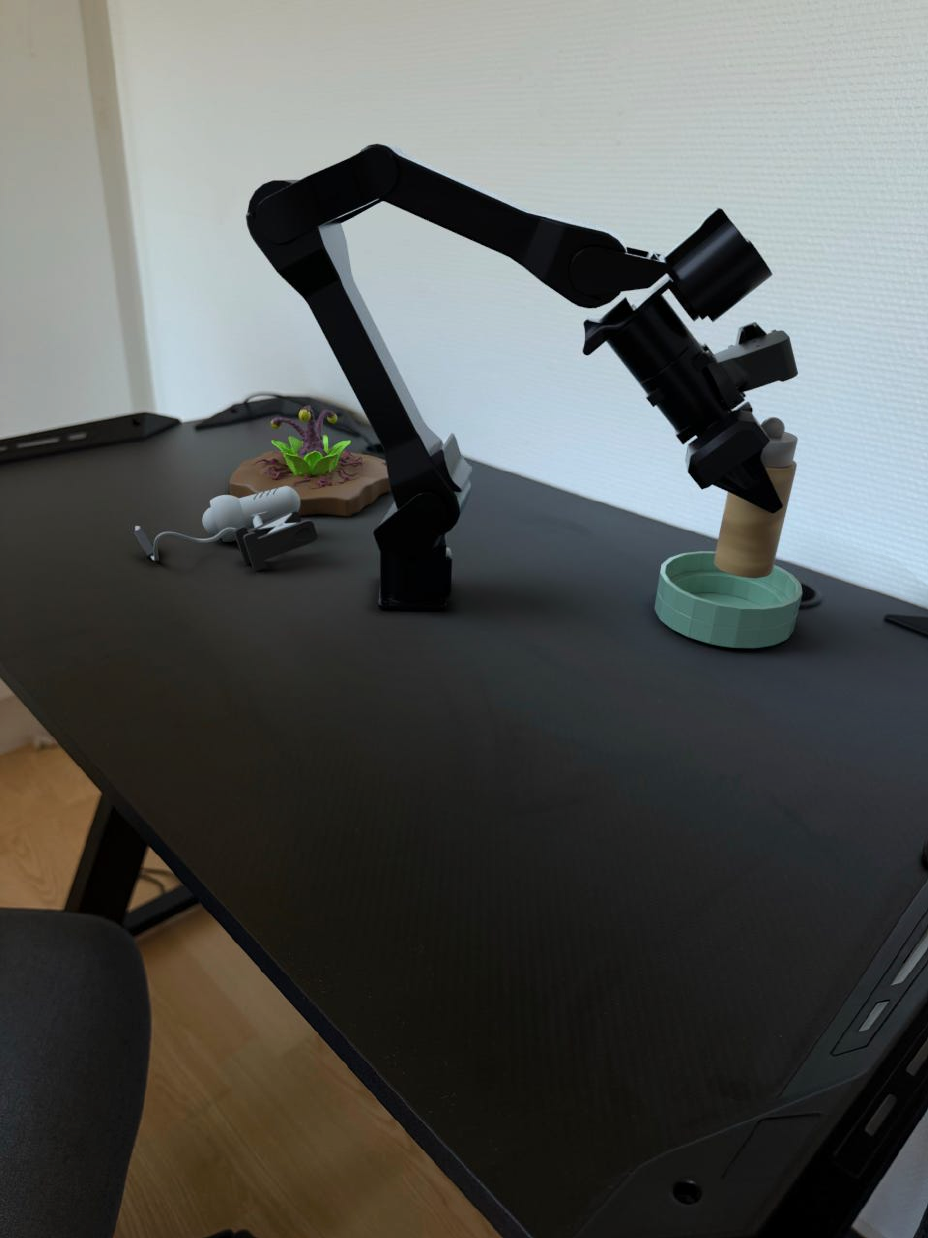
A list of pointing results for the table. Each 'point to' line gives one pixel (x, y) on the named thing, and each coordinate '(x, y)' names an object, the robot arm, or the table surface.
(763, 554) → the pepper mill
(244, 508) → the clip-on lamp
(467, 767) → the table surface
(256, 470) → the plant
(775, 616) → the green shallow bowl
